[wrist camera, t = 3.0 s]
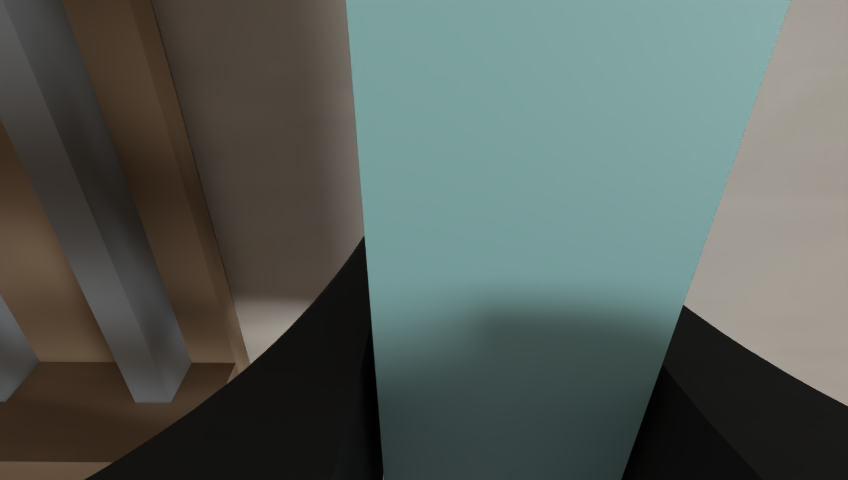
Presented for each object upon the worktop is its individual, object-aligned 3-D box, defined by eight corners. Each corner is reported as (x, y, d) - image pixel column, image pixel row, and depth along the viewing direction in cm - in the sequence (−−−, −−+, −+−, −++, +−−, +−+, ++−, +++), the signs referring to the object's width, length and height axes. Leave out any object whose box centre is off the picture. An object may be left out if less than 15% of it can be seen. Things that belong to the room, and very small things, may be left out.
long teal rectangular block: (513, 405, 15) (555, 662, 10) (409, 404, 15) (398, 661, 10) (582, -90, 8) (820, -88, 3) (395, -88, 8) (339, -83, 3)
